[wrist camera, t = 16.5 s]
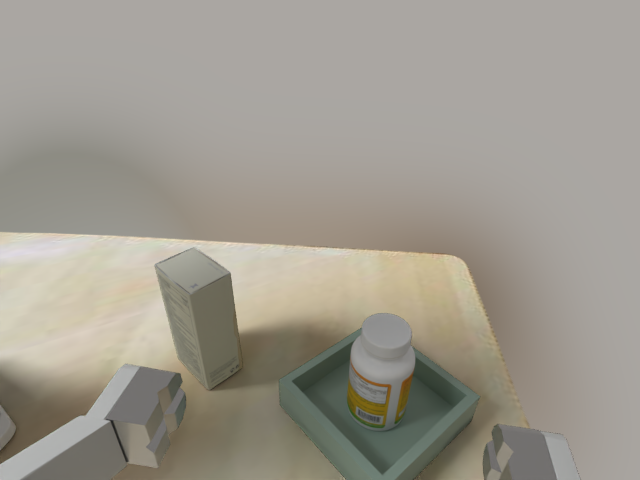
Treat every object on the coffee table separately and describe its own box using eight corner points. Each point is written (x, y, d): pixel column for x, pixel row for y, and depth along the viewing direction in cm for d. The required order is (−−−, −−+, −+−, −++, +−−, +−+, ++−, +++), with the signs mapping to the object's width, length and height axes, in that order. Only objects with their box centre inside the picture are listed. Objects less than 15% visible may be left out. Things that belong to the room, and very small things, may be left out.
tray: (279, 404, 40) (278, 379, 39) (372, 342, 47) (375, 319, 46) (378, 515, 32) (383, 490, 31) (471, 420, 40) (480, 396, 38)
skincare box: (244, 368, 44) (235, 273, 37) (207, 393, 41) (190, 296, 35) (209, 336, 48) (196, 244, 41) (173, 357, 45) (152, 263, 38)
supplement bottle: (389, 376, 42) (401, 301, 37) (415, 423, 38) (434, 345, 33) (337, 390, 41) (343, 313, 36) (359, 440, 36) (369, 361, 31)
